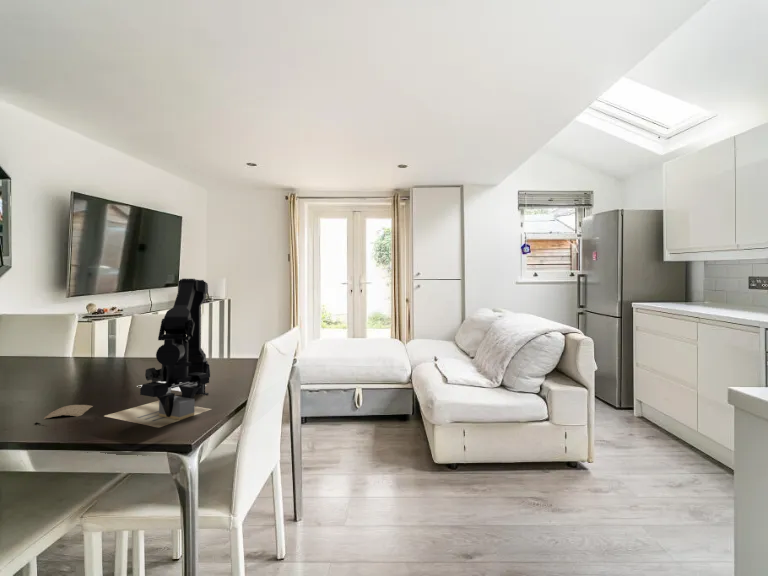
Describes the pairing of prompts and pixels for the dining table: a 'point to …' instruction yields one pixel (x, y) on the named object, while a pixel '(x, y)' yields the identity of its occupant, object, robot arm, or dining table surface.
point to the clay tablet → (69, 411)
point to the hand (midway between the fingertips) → (176, 414)
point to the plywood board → (149, 415)
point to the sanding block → (179, 408)
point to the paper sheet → (172, 388)
